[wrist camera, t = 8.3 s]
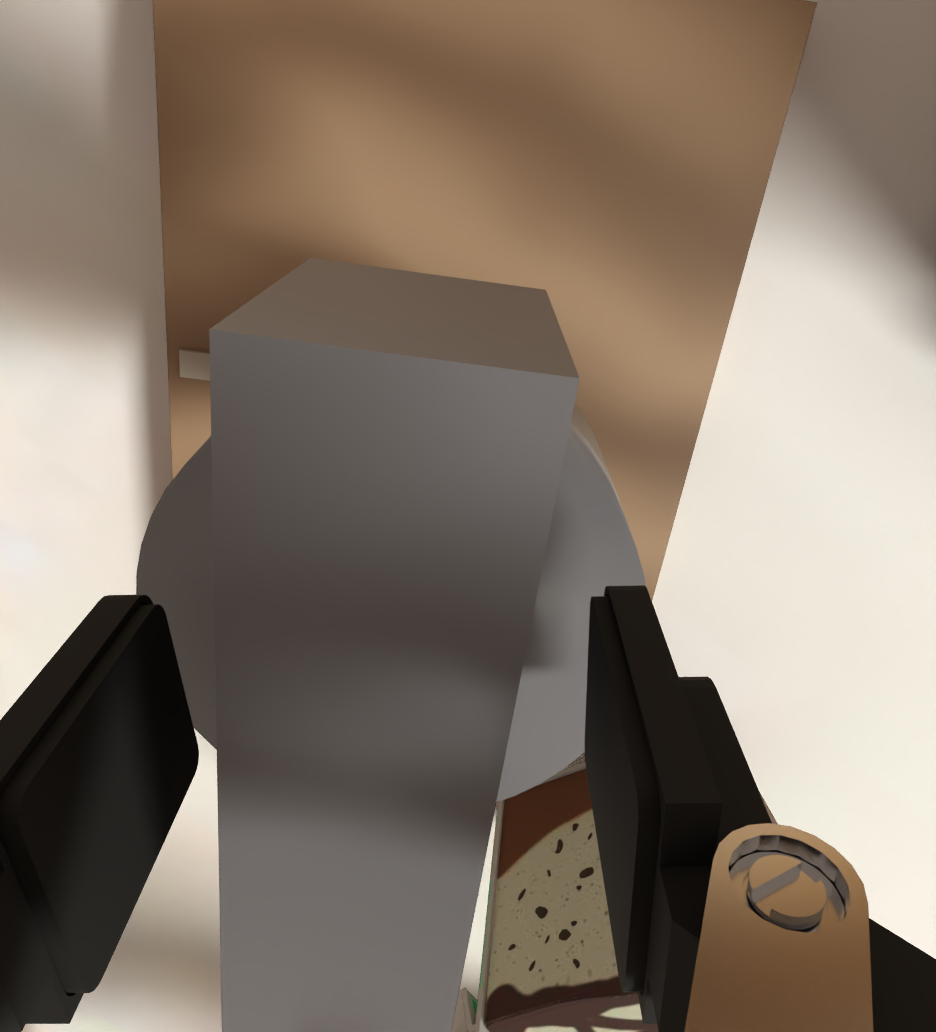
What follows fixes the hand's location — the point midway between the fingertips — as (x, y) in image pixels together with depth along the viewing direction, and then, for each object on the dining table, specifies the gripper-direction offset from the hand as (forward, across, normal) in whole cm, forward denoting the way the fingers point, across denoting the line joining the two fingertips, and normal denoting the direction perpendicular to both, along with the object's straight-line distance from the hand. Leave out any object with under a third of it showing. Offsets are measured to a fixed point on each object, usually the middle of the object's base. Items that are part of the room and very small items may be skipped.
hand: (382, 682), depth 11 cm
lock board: (+15, 0, 0) cm, 15 cm away
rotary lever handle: (+5, 0, 0) cm, 5 cm away
